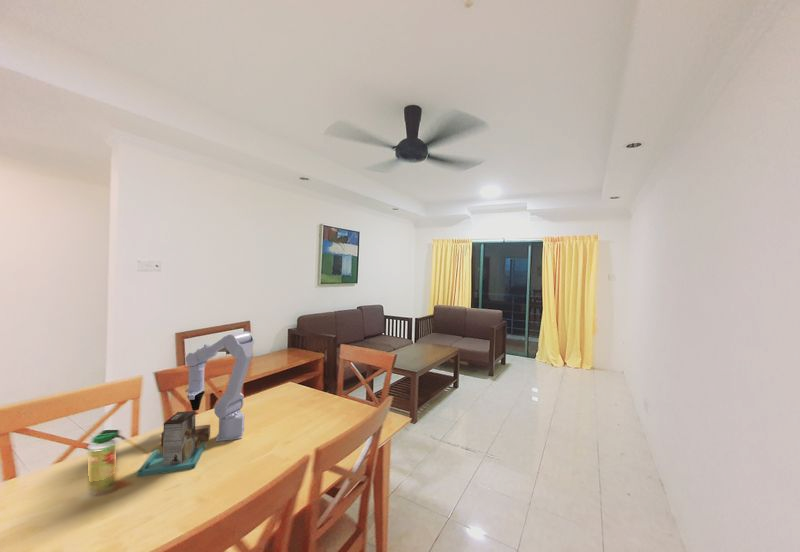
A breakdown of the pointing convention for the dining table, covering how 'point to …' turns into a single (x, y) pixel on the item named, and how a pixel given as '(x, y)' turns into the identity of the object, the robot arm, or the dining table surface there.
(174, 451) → the coffee box
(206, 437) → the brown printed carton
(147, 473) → the tray
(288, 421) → the dining table surface
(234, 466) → the dining table surface
